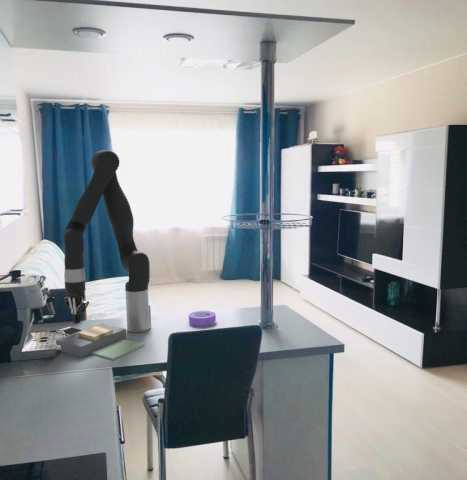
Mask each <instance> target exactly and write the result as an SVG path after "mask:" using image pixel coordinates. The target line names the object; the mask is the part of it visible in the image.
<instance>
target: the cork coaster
mask: <svg viewBox="0 0 467 480" xmlns="http://www.w3.org/2000/svg"><path fill="white" fill-rule="evenodd" d="M94 326H95V327H93V326H92V327H93V328H90V327H89V328H90V329H87V328H86V329H87V330H85V329H83V330H84V331H82V332H79V333H78V337H82V338H86V339H89V340H93V341H95V340H98V339H101V338H103V337H106V336H108V335H111V334H113V330H111V329H107V328H102V327H98V326H96V325H94Z"/></svg>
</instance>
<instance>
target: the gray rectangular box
mask: <svg viewBox="0 0 467 480" xmlns="http://www.w3.org/2000/svg"><path fill="white" fill-rule="evenodd" d="M95 326H98V327H102V328H107V329H111V330H113V334H111V335H108V336H106V337H103V338H101V339H98V340H95V341H93V340H89V339H86V338H82V337H78V333H79V332H82V331H84V330H87V329H90V328H93V327H95ZM81 330H82V331H79V332H76V333H73V334H71V335H68V336H66V335H64V336H63V337H60V338H57V339H55V345H56V344H57V345H60V346H61V351H60V352H63V353H66V354H69V355H72V356H75V357H80V358H84V357H86V356H89V355H92V352H94V351H96V350H99V349H101V348H103V347H106V346H108V345H111V344H113V343H115V342H118V341H120V340H123V339H126V340H127V329H126V328H123V327H120V326H119V327H118V326H115V325H111V324H105V323H101V322H100V323H98V324H95V325H93V326H91V327H87V328H85V329H81Z"/></svg>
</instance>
